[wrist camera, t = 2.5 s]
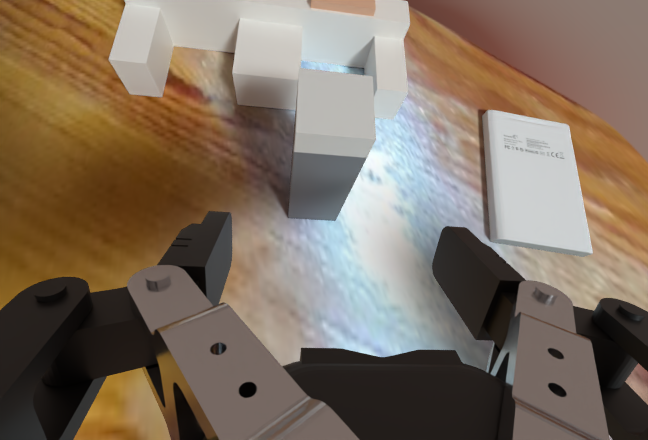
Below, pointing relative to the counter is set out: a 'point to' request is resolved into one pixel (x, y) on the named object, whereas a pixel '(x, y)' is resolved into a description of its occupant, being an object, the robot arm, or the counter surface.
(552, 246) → the external hard drive
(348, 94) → the grey tall block
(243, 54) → the socket strip
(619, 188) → the counter surface
